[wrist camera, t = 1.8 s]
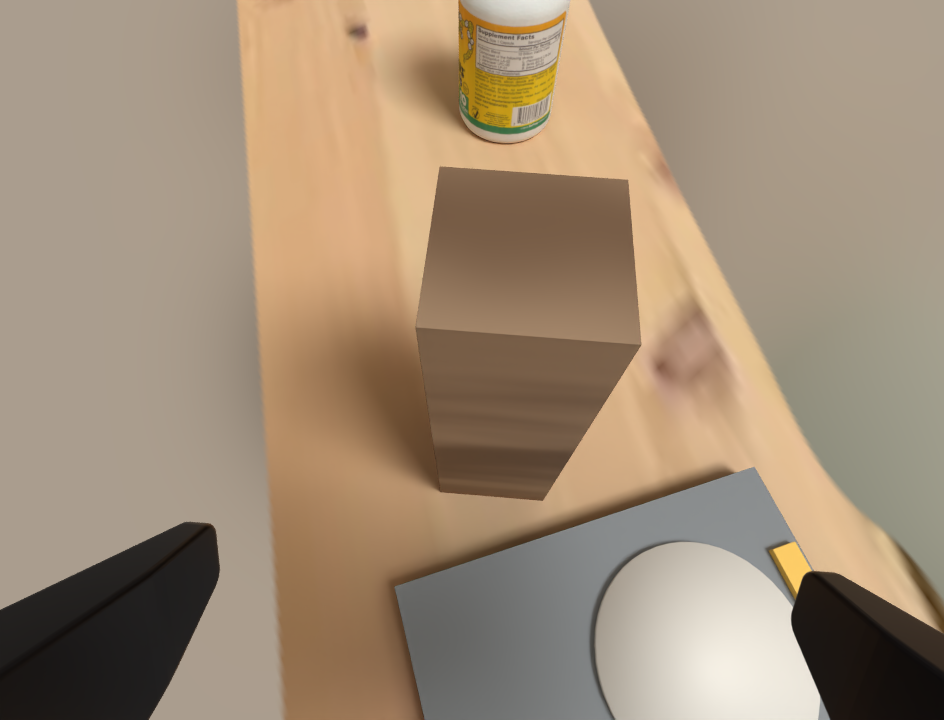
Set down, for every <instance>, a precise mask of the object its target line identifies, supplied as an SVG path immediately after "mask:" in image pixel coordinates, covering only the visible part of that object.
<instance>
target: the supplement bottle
mask: <svg viewBox="0 0 944 720" xmlns="http://www.w3.org/2000/svg"><path fill="white" fill-rule="evenodd" d="M569 5H570V0H459V109H460V114H461V117H462V119H463V120H464V122H465V124H466V125H467V127H468V128H469V129H470V130H471V131H472V132H473V133H475V134H476V135H478V136H480V137H481V138H484V139H486V140H489V141H493V142H499V143H515V142H521V141H524V140H527V139H530V138H532V137H534V136H535V135H537V134H538V133H539V132H540V131H542V129H543V128H544V127H545V126H546V124H547V123H548V121H549V118H550V115H551V109H552V103H553V97H554V91H555V85H556V79H557V74H558V68H559V62H560V56H561V50H562V44H563V38H564V33H565V27H566V22H567V16H568V11H569Z"/></svg>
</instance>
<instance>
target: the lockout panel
mask: <svg viewBox="0 0 944 720" xmlns="http://www.w3.org/2000/svg"><path fill="white" fill-rule="evenodd" d="M809 571H814V570H813V569H812V567H811V565H810V563H809V562H808V560H807V558H806V556H805V555H804V553H803V551H802V549H801V548H800V546H799V544H798V542H797V541H796V539H795V537H794V535H793V534H792V532H791V530H790V528H789V527H788V525H787V523H786V521H785V520H784V518H783V516H782V514H781V513H780V511H779V509H778V507H777V506H776V504H775V502H774V500H773V499H772V497H771V495H770V493H769V491H768V490H767V488H766V486H765V484H764V483H763V481H762V479H761V477H760V476H759V474H758V472H757V470H756V469H755V467H752V468H749V469H746V470H743V471H740V472H737V473H734V474H731V475H728V476H725V477H722V478H719V479H716V480H713V481H710V482H707V483H704V484H701V485H698V486H695V487H692V488H689V489H686V490H683V491H680V492H677V493H674V494H671V495H668V496H665V497H662V498H659V499H656V500H653V501H650V502H647V503H644V504H641V505H638V506H635V507H632V508H629V509H626V510H623V511H620V512H617V513H614V514H611V515H608V516H605V517H602V518H599V519H596V520H593V521H590V522H587V523H584V524H581V525H578V526H575V527H572V528H569V529H566V530H563V531H560V532H557V533H554V534H551V535H548V536H545V537H542V538H539V539H536V540H533V541H530V542H527V543H524V544H521V545H518V546H515V547H512V548H509V549H506V550H503V551H500V552H497V553H494V554H491V555H488V556H485V557H482V558H479V559H476V560H473V561H470V562H467V563H464V564H461V565H458V566H455V567H452V568H449V569H446V570H443V571H440V572H437V573H434V574H431V575H428V576H425V577H422V578H419V579H416V580H413V581H410V582H407V583H404V584H401V585H398V586H395V591H396V595H397V600H398V604H399V609H400V613H401V617H402V622H403V626H404V631H405V635H406V640H407V644H408V648H409V653H410V657H411V662H412V666H413V670H414V675H415V679H416V684H417V688H418V693H419V697H420V701H421V706H422V710H423V715H424V719H425V720H830V719H829V716H828V714H827V711H826V709H825V707H824V704H823V702H822V700H821V697H820V695H819V692H818V690H817V688H816V685H815V683H814V681H813V678H812V676H811V673H810V671H809V669H808V666H807V664H806V662H805V659H804V657H803V654H802V652H801V650H800V647H799V645H798V642H797V640H796V638H795V635H794V633H793V630H792V626H791V613H792V609H793V606H794V603H795V600H796V596H797V593H798V590H799V587H800V584H801V580H802V578H803V576H804V575H805V574H806V573H807V572H809Z"/></svg>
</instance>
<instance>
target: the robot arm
mask: <svg viewBox="0 0 944 720" xmlns="http://www.w3.org/2000/svg"><path fill="white" fill-rule="evenodd" d="M219 571H220V565H219V556H218V546H217V537H216V530H215V528H214V526H213V525H211V524H209V523H198V522H197V523H196V522H184V523H182V524H180V525H178V526H176V527H173V528H171V529H169V530H167V531H165V532H163V533H161V534H159V535H156V536H154V537H152V538H150V539H148V540H146V541H144V542H142V543H140V544H138V545H135V546H133V547H131V548H129V549H127V550H125V551H123V552H121V553H119V554H117V555H115V556H112V557H110V558H108V559H106V560H104V561H102V562H100V563H98V564H96V565H93V566H91V567H89V568H87V569H85V570H83V571H81V572H79V573H77V574H75V575H73V576H70V577H68V578H66V579H64V580H62V581H60V582H58V583H56V584H54V585H51V586H49V587H47V588H45V589H43V590H41V591H39V592H37V593H35V594H33V595H31V596H28V597H26V598H24V599H22V600H20V601H18V602H16V603H14V604H12V605H9V606H7V607H5V608H3V609H1V610H0V720H149V718H150V716H151V715H152V713H153V711H154V710H155V708H156V706H157V705H158V703H159V701H160V699H161V698H162V696H163V694H164V692H165V690H166V689H167V687H168V685H169V683H170V681H171V679H172V677H173V675H174V673H175V671H176V669H177V667H178V665H179V663H180V661H181V659H182V657H183V655H184V652H185V650H186V648H187V646H188V644H189V642H190V640H191V638H192V635H193V633H194V631H195V629H196V627H197V625H198V622H199V621H200V618H201V616H202V614H203V612H204V610H205V607H206V606H207V604H208V601H209V599H210V597H211V595H212V593H213V591H214V589H215V586H216V584H217V581H218V578H219ZM791 626H792V630H793V633H794V635H795V638H796V640H797V642H798V645H799V647H800V650H801V652H802V654H803V657H804V659H805V662H806V664H807V666H808V669H809V671H810V673H811V676H812V678H813V681H814V683H815V685H816V688H817V690H818V692H819V695H820V697H821V700H822V702H823V704H824V707H825V709H826V711H827V714H828V716H829V719H830V720H944V634H943V633H941V632H939V631H938V630H936V629H934V628H932V627H931V626H929V625H927V624H925V623H924V622H922V621H920V620H918V619H917V618H915V617H913V616H911V615H910V614H908V613H906V612H905V611H903V610H901V609H899V608H898V607H896V606H894V605H892V604H891V603H889V602H887V601H885V600H884V599H882V598H880V597H878V596H877V595H875V594H873V593H871V592H870V591H868V590H866V589H864V588H863V587H861V586H859V585H857V584H856V583H854V582H852V581H851V580H849V579H847V578H845V577H844V576H842V575H840V574H837V573H833V572H820V571H809V572H807V573H806V574H805V575H804V576H803V578H802V580H801V584H800V587H799V590H798V593H797V596H796V600H795V603H794V606H793V609H792V613H791Z"/></svg>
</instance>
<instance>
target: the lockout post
mask: <svg viewBox="0 0 944 720" xmlns="http://www.w3.org/2000/svg"><path fill="white" fill-rule="evenodd" d="M416 334H417V341H418V347H419V354H420V360H421V367H422V373H423V380H424V387H425V393H426V400H427V406H428V413H429V419H430V426H431V433H432V439H433V446H434V452H435V459H436V465H437V472H438V479H439V485H440V492H446V493H458V494H470V495H482V496H494V497H505V498H517V499H529V500H541V501H543V500H544V498H545V496H546V495H547V493H548V492H549V490H550V489H551V487H552V485H553V484H554V482H555V481H556V479H557V477H558V476H559V474H560V473H561V471H562V470H563V468H564V466H565V465H566V463H567V462H568V460H569V458H570V457H571V455H572V454H573V452H574V451H575V449H576V447H577V446H578V444H579V443H580V441H581V440H582V438H583V436H584V435H585V433H586V432H587V430H588V428H589V427H590V425H591V424H592V422H593V421H594V419H595V417H596V416H597V414H598V413H599V411H600V409H601V408H602V406H603V405H604V403H605V402H606V400H607V398H608V397H609V395H610V394H611V392H612V391H613V389H614V387H615V386H616V384H617V383H618V381H619V379H620V378H621V376H622V375H623V373H624V372H625V370H626V368H627V367H628V365H629V364H630V362H631V360H632V359H633V357H634V356H635V354H636V353H637V351H638V349H639V348H640V346H641V334H640V322H639V309H638V297H637V284H636V272H635V260H634V247H633V235H632V222H631V210H630V197H629V185H628V180H622V179H608V178H594V177H580V176H566V175H551V174H537V173H523V172H509V171H495V170H481V169H467V168H453V167H440V168H439V175H438V181H437V188H436V195H435V201H434V208H433V214H432V221H431V228H430V234H429V241H428V248H427V254H426V261H425V267H424V274H423V281H422V287H421V294H420V301H419V307H418V314H417V320H416Z"/></svg>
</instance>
